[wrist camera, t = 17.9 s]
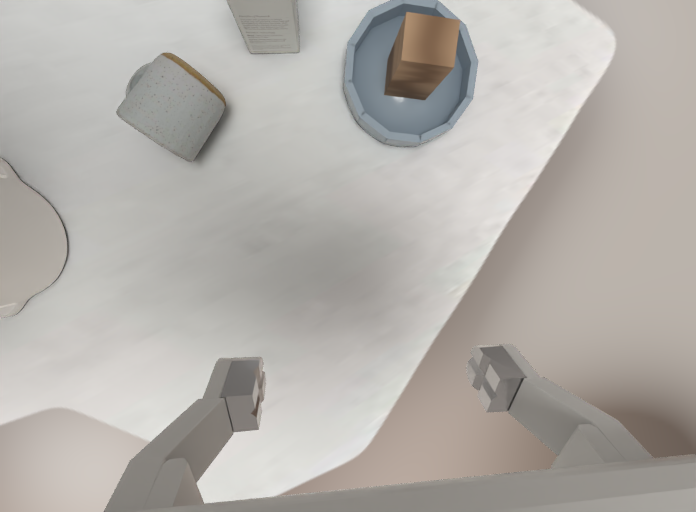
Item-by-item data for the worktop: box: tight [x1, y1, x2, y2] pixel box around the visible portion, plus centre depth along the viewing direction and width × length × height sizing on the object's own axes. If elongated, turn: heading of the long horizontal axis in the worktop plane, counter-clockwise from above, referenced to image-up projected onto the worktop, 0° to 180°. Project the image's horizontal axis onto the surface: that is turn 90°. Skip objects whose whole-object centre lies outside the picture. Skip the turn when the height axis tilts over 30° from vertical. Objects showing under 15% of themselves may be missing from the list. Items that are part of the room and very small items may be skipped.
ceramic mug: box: [116, 53, 226, 162], centre depth 30 cm, size 11×8×8 cm
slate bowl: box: [343, 0, 478, 147], centre depth 34 cm, size 15×15×3 cm
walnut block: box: [384, 12, 460, 100], centre depth 30 cm, size 5×4×8 cm
